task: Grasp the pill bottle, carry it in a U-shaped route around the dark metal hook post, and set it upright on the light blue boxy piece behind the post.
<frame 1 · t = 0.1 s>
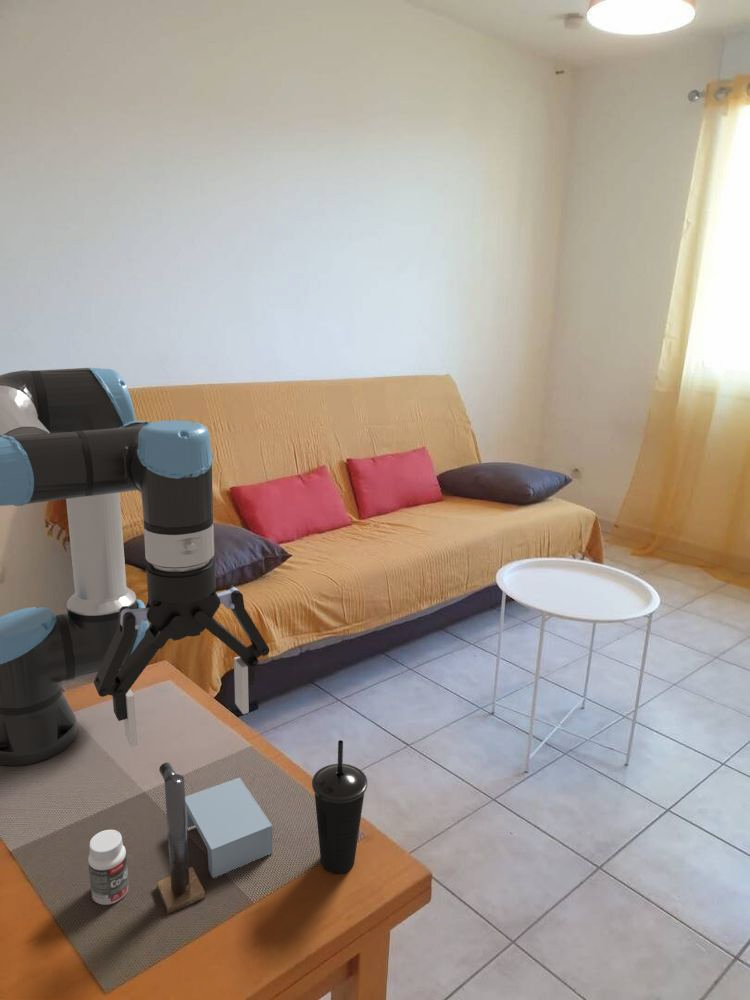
hand: (188, 723, 87), 28 cm above the table, fingers open, 13 cm apart
light blue boxy piece: (227, 839, 106), on the table
pill bottle: (110, 892, 97), on the table
hook post: (180, 892, 97), on the table
drinking cup: (337, 862, 103), on the table
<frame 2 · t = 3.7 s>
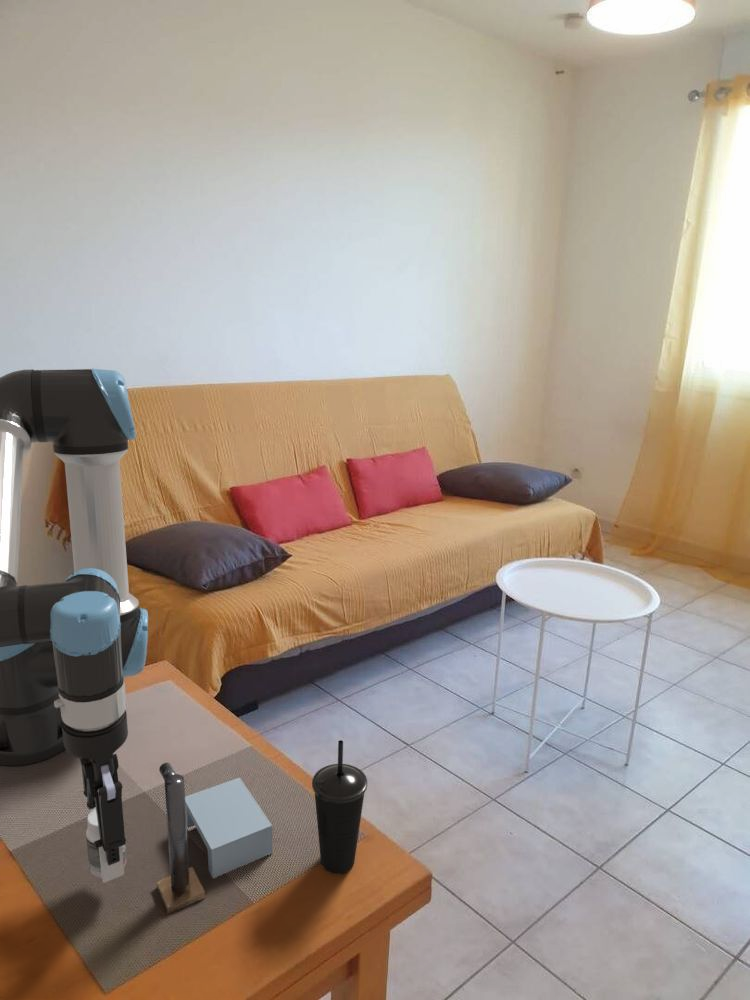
hand: (108, 862, 96), 4 cm above the table, fingers closed on pill bottle, 5 cm apart
pill bottle: (108, 865, 96), point 4 cm above the table, touching gripper
everything else where it was.
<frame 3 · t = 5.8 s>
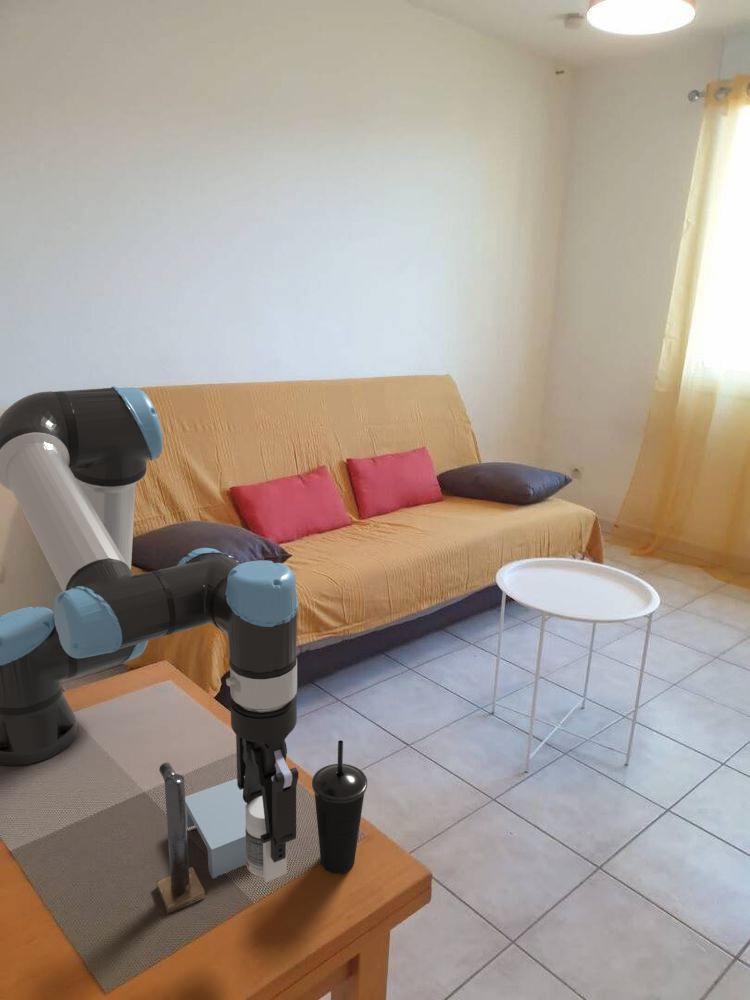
hand: (266, 860, 89), 11 cm above the table, fingers closed on pill bottle, 5 cm apart
pill bottle: (265, 864, 89), point 10 cm above the table, touching gripper
everything else where it was.
when the fingers open (6 cm above the table, at t = 7.9 s): pill bottle stays where it is, resting on light blue boxy piece.
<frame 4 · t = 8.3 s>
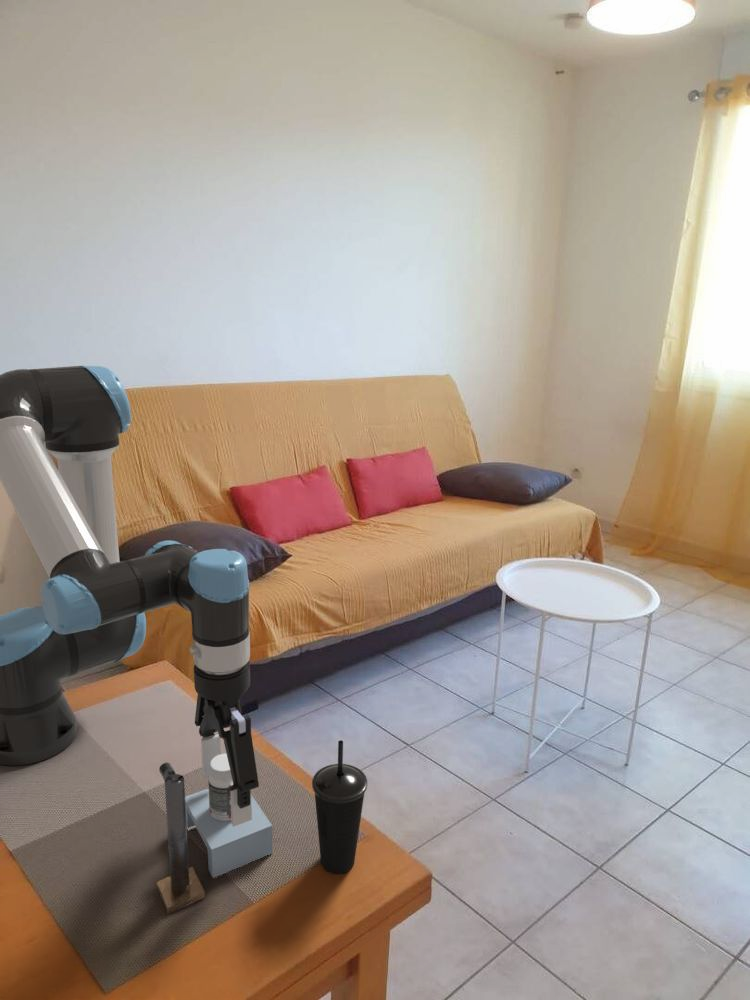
hand: (226, 796, 104), 7 cm above the table, fingers open, 11 cm apart
pill bottle: (226, 811, 105), point 5 cm above the table, touching light blue boxy piece
everything else where it was.
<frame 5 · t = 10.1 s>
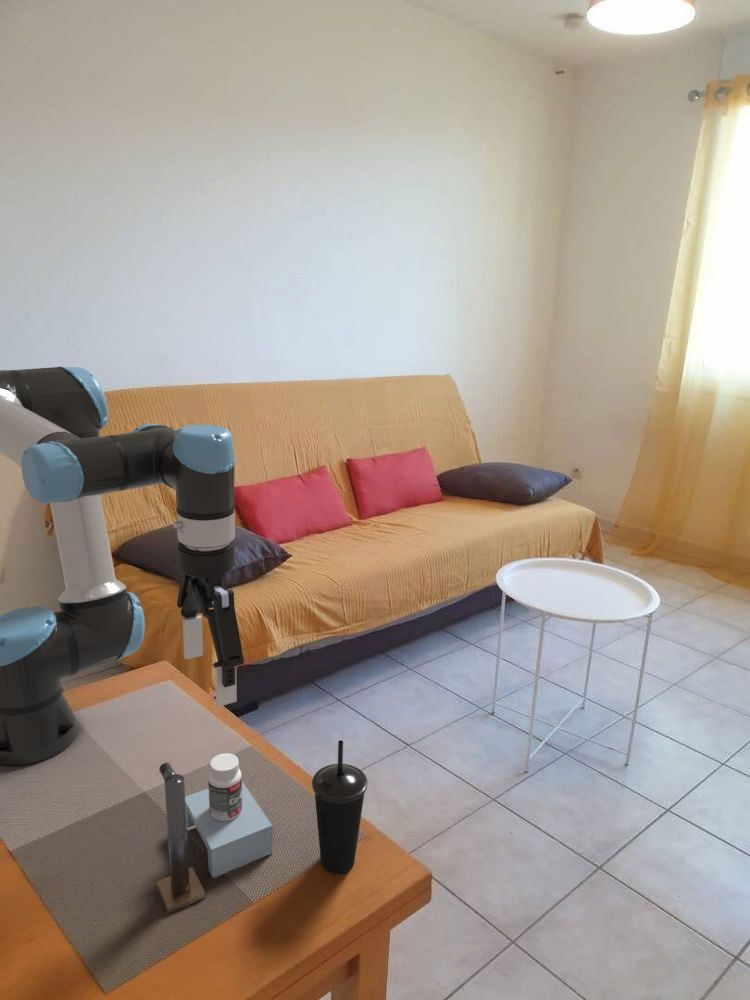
hand: (209, 678, 103), 24 cm above the table, fingers open, 13 cm apart
nothing on the table moved.
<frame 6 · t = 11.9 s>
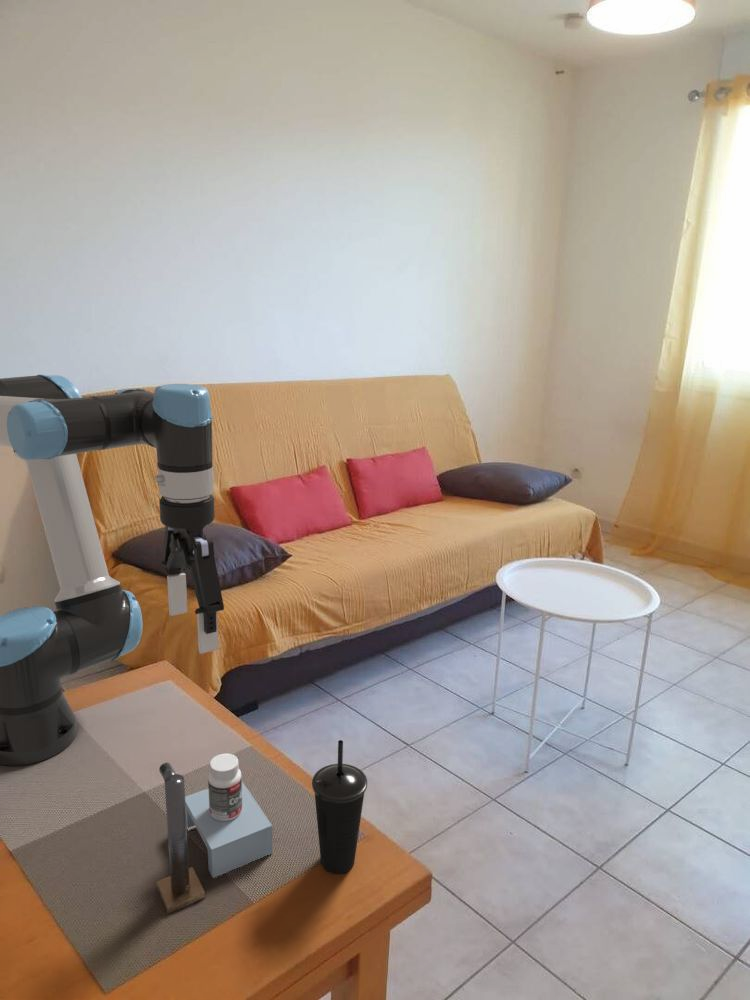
hand: (192, 631, 108), 29 cm above the table, fingers open, 13 cm apart
nothing on the table moved.
at the end: pill bottle inside the target area on the light blue boxy piece (0.1 cm from its centre), point 4.8 cm above the light blue boxy piece's base; pill bottle tilted 0°; the gripper is holding nothing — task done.
